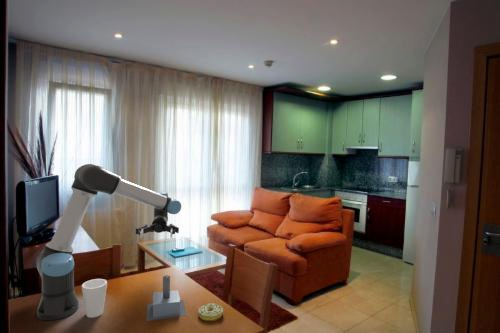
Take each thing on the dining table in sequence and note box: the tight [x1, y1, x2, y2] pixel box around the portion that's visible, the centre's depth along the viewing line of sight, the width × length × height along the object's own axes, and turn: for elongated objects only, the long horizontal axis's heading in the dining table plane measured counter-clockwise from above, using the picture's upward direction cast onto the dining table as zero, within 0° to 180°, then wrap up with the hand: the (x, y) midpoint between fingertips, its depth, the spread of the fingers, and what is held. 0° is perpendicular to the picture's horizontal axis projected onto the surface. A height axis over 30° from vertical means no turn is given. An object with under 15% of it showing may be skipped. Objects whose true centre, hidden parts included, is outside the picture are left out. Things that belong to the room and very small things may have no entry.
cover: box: [152, 275, 181, 318], centre depth 134 cm, size 11×11×15 cm
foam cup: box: [81, 278, 108, 319], centre depth 130 cm, size 10×9×13 cm
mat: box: [146, 299, 187, 322], centre depth 135 cm, size 16×14×1 cm
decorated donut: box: [197, 302, 224, 322], centre depth 131 cm, size 10×11×4 cm
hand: (156, 235), depth 144 cm, fingers open, 13 cm apart
